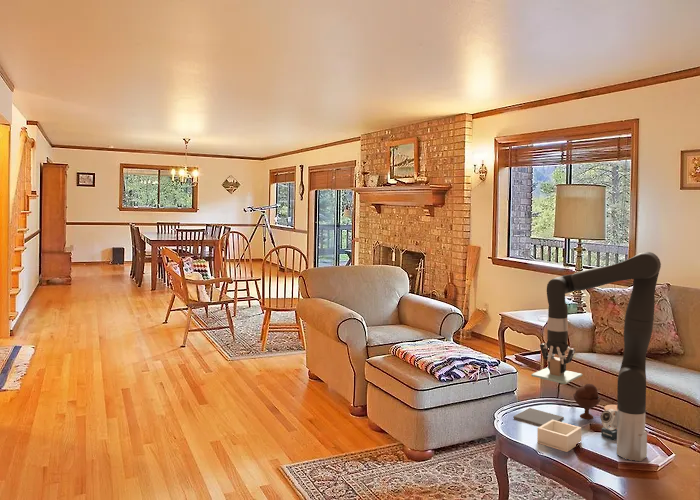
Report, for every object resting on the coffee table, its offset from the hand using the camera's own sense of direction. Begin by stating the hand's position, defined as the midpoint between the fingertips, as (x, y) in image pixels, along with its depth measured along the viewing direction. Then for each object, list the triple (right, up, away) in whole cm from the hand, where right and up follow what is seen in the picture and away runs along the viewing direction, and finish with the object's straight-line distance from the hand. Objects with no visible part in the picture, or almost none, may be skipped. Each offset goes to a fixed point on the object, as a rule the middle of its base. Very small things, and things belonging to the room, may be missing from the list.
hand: (556, 371), depth 225 cm
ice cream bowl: (+22, -25, +25) cm, 42 cm away
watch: (+23, -27, +4) cm, 36 cm away
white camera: (+30, -26, +13) cm, 42 cm away
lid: (0, -3, 0) cm, 3 cm away
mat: (+1, -26, +24) cm, 35 cm away
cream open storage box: (+1, -28, -1) cm, 28 cm away
